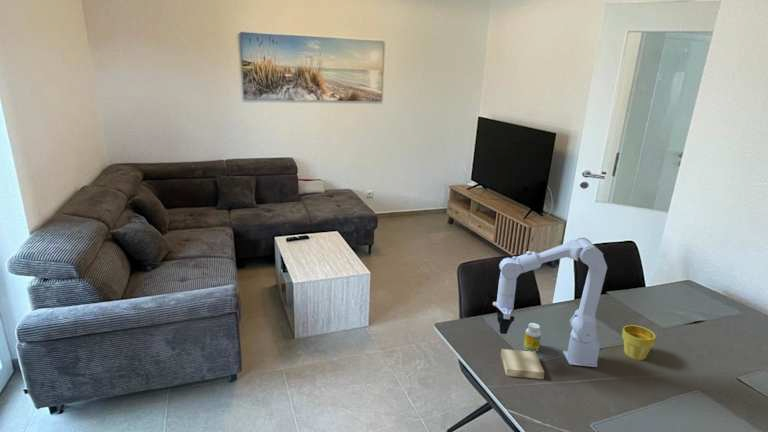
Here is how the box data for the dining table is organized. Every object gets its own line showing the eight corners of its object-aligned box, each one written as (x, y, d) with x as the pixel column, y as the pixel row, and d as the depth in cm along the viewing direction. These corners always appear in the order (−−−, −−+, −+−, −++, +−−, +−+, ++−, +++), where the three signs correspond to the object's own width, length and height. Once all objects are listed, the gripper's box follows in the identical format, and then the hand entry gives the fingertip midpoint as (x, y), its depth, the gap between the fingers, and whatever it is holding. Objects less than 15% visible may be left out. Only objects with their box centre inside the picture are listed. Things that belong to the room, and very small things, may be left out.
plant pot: (614, 355, 161) (619, 331, 159) (623, 344, 169) (627, 321, 166) (646, 368, 155) (652, 343, 152) (653, 356, 162) (659, 332, 159)
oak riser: (534, 359, 158) (535, 351, 157) (543, 380, 146) (544, 372, 146) (500, 356, 159) (501, 349, 158) (506, 377, 147) (507, 369, 146)
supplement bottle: (529, 343, 167) (533, 320, 164) (541, 350, 163) (545, 326, 160) (520, 347, 164) (523, 324, 162) (532, 354, 160) (535, 330, 157)
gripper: (492, 282, 161) (488, 316, 164) (496, 300, 147) (492, 337, 151) (512, 284, 160) (508, 318, 164) (518, 302, 146) (513, 339, 150)
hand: (502, 327), depth 157 cm, fingers open, 7 cm apart
